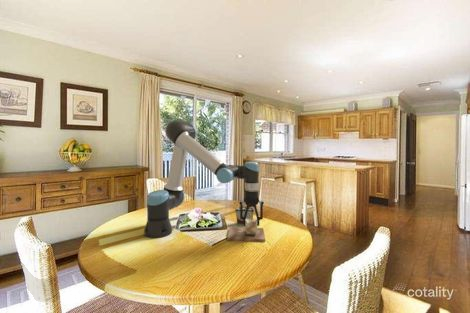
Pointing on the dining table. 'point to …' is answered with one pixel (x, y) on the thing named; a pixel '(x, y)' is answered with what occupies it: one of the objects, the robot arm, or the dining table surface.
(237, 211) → the food container
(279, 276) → the dining table surface
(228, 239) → the board
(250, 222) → the sanding block
